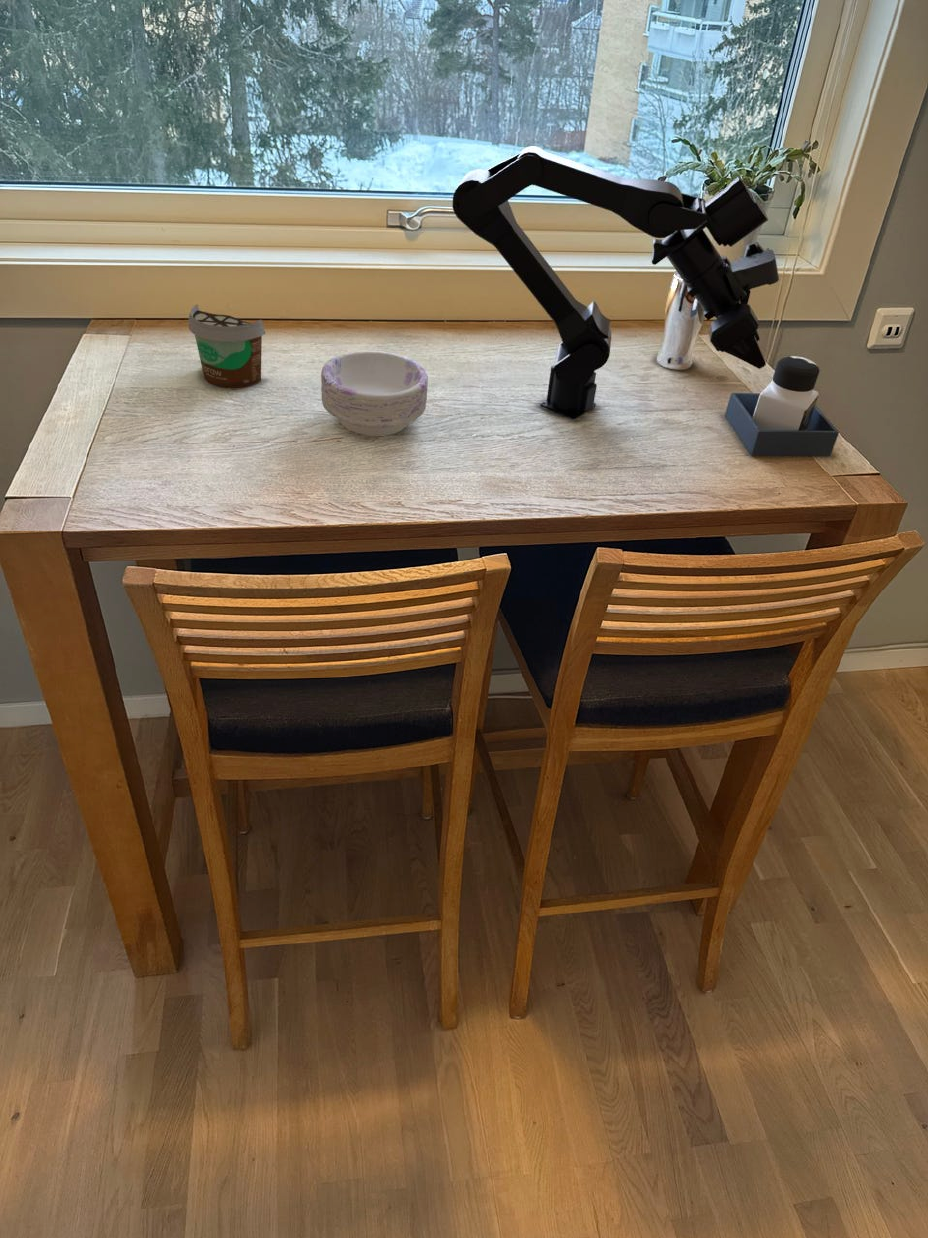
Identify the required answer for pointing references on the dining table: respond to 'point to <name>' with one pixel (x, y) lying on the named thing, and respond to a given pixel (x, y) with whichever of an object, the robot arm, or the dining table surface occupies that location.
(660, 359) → the silver tumbler
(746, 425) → the caddy
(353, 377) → the paper bowls
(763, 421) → the medicine bottle
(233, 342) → the food container
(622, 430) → the dining table surface
